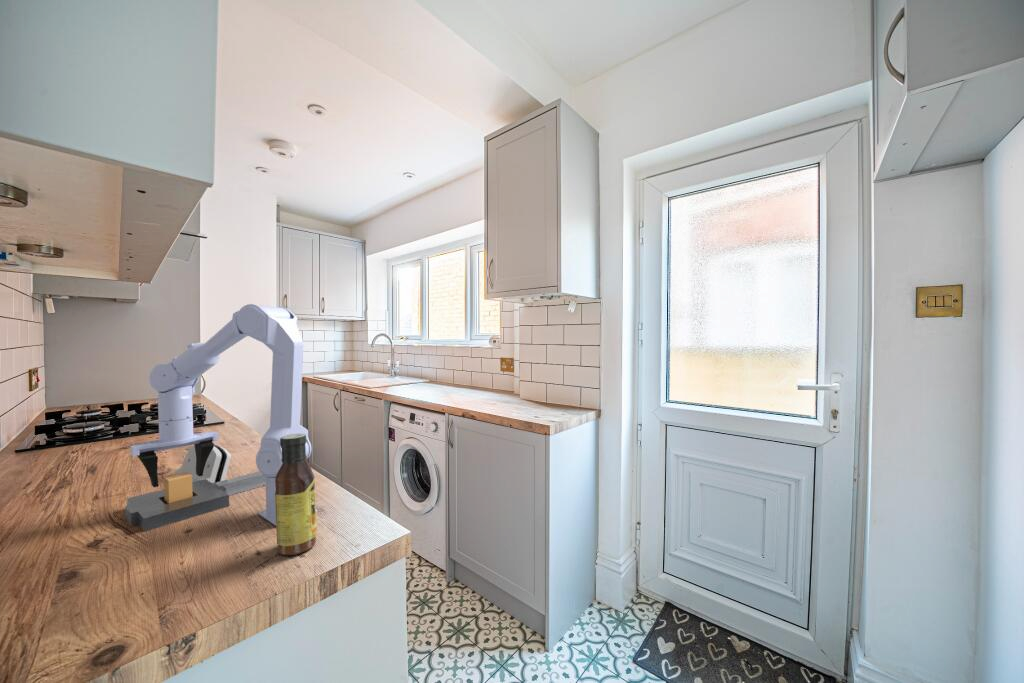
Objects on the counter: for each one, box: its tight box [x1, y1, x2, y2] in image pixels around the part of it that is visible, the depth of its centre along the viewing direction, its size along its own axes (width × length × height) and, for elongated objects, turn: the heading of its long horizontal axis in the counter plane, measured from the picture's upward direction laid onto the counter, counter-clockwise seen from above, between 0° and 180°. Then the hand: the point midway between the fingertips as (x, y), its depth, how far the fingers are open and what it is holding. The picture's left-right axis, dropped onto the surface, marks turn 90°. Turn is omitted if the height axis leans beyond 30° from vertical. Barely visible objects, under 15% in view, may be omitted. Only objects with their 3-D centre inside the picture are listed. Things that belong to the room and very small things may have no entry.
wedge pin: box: [163, 472, 193, 504], centre depth 87 cm, size 4×4×7 cm
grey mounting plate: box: [124, 470, 266, 532], centre depth 91 cm, size 16×27×3 cm, turn 143°
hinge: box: [173, 444, 232, 484], centre depth 105 cm, size 17×5×10 cm, turn 61°
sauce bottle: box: [275, 434, 318, 556], centre depth 70 cm, size 7×6×20 cm
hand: (178, 480), depth 87 cm, fingers open, 7 cm apart
